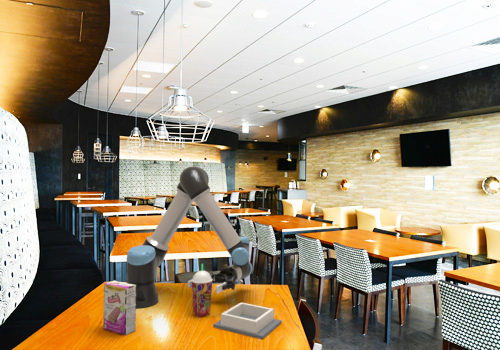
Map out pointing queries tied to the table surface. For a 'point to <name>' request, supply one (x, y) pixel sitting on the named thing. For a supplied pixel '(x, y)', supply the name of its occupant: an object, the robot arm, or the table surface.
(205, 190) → the robot arm
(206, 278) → the smoothie
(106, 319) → the candy bar box
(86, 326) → the table surface
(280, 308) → the table surface
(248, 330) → the board
